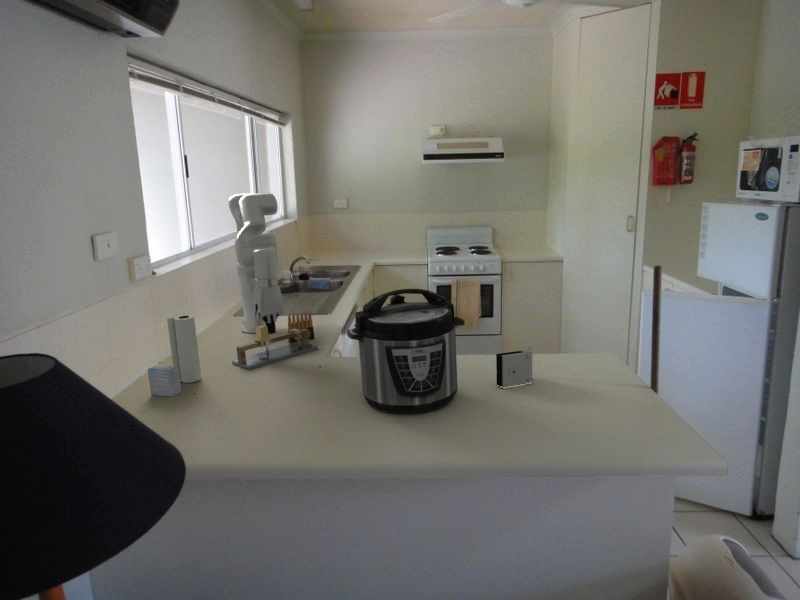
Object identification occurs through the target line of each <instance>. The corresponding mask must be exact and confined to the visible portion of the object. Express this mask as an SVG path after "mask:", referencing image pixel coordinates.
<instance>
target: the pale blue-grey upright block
mask: <svg viewBox="0 0 800 600" xmlns="http://www.w3.org/2000/svg"><path fill="white" fill-rule="evenodd" d="M147 374H148V381H149V389H150V395H151V396H159V397H167V398H168V397H170V398H171V397H175V396H176V395H179V394H180V393H181V392H182V388H181V380H179V373H178V366H173V364H171V365H169V364H155V365H153V366H151V367H149V368H147Z"/></svg>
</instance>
